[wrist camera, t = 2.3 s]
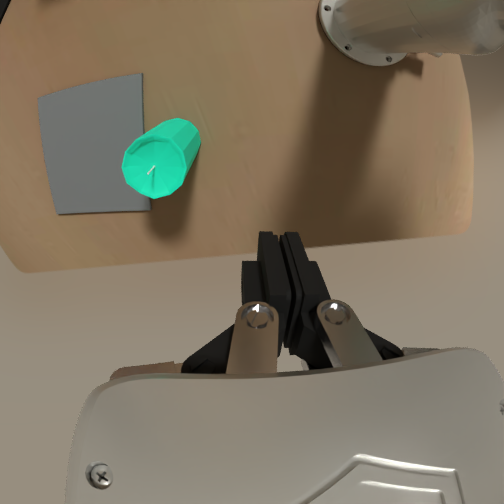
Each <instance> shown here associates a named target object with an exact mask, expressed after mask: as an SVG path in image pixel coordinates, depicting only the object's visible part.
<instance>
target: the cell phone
mask: <svg viewBox="0 0 504 504" xmlns="http://www.w3.org/2000/svg"><path fill="white" fill-rule="evenodd" d="M10 1H11V0H0V23H1V21H2V18H3V16H4V14H5V12H6V10H7V7H8V5H9V3H10Z"/></svg>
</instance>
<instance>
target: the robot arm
mask: <svg viewBox="0 0 504 504" xmlns="http://www.w3.org/2000/svg"><path fill="white" fill-rule="evenodd" d="M324 8H326V9H327V11H325V10H324ZM319 19H320V22H321V25H322V28H323V30H324V32H325V33H326V35H327V37H328V38H329V39H330V41H331V42H332V43H333V45H334V46H336V47H337V48H338V49H339V50H340V51H341V52H342V53H344V54H345V55H346V56H348V57H349V58H351V59H353V60H355V61H357V62H360V63H363V64H366V65H372V66H386V65H391V64H394V63H397V62H398V61H400V60H402V59H403V58H404V57H405V56H406V55H407V54H408V53H429V54H431V55H433V56H435V57H440V56H441V55H442V53H453V54H467V55H486V54H490V53H492V52H495V51H496V50H497V49H499V48H500V47H501V46H502V45H503V44H504V0H320V2H319ZM345 46H346V47H347V50H346V49H345ZM386 58H387V60H386ZM241 280H242V281H241V284H242V285H241V290H242V291H241V292H242V306H241V307H240V308H239V309H238V312H237V314H236V320H235V324H233V325H232V326H231V327H229V328H228V329H227V330H225V331H224V332H223V333H221V334H220V335H218V336H217V337H216V338H214V339H213V340H212V341H210V342H209V343H208V344H206V345H205V346H204V347H202V348H201V349H199V350H198V351H197V352H195V353H194V354H192V355H191V356H190V357H188V358H187V360H185V361H184V363H178V364H174V361H172V362H165V363H158V364H149V365H140V366H131V367H124V368H120V369H118V370H116V371H115V372H114V373H113V374H112V375H111V377H110V381H108V382H106V383H104V384H102V385H100V386H98V387H97V388H95V389H94V390H93V391H92V392H91V393H90V394H89V396H88V397H87V399H86V401H85V403H84V405H83V407H82V410H81V412H80V415H79V418H78V421H77V424H76V428H75V432H74V435H73V440H72V445H71V451H70V457H69V462H68V470H67V480H66V493H65V504H504V382H503V379H502V378H501V376H500V374H499V372H498V370H497V369H496V367H495V365H494V364H493V363H492V361H491V360H490V359H489V357H488V356H487V355H486V354H484V353H483V352H481V351H478V350H476V349H471V348H460V347H455V348H446V349H434V348H433V349H432V348H407V347H403V348H402V350H400V348H398V347H397V346H396V345H394V344H392V343H391V342H389V341H387V340H385V339H383V338H382V337H380V336H378V335H376V334H374V333H372V332H371V331H369V330H367V329H365V328H364V327H363V326H362V324H361V322H360V321H359V319H358V318H357V316H356V314H355V313H354V311H353V310H352V309H351V308H350V306H349V305H347V304H346V303H344V302H342V301H339V300H331V298H330V295H329V293H328V290H327V287H326V285H325V282H324V280H323V277H322V275H321V272H320V269H319V267H318V264H317V262H316V261H309V260H308V257H307V255H306V252H305V249H304V247H303V244H302V241H301V239H300V236H299V234H298V232H285V233H284V235H280V239H279V241H278V237H277V235H273V233H272V232H264V231H260V232H259V239H258V253H257V261H242V278H241ZM282 343H283V344H284V347H285V348H289V353H290V355H297V356H298V357H300V358H301V359H302V360H301V364H302V367H303V370H304V371H292V372H277V358H278V357H279V356H280V352H281V346H282ZM108 466H109V467H108Z"/></svg>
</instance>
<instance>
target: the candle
mask: <svg viewBox="0 0 504 504" xmlns="http://www.w3.org/2000/svg"><path fill="white" fill-rule="evenodd" d="M200 144H201V140H200V136H199V131H198V130H197V128H196V127H195V126H194V125H193V124H192V123H191V122H190V121H187V120H183V119H180V118H175V119H171V120H167V121H164V122H163V123H161V124H159V125H158V126H156V127H154V128H153V129H151V130H150V131H148V132H147V133H145V134H143V135H142V136H140V137H139V138H137V139H136V140H135V141H134V142H133V143H132V144H131V145H130V146H129V148H128V149H127V150H126V151H125V154H124V158H123V163H122V167H121V168H122V171H123V174H124V177H125V180H126V183H127V184H128V185H130V186H131V187H132V188H134V189H135V190H136V191H137V192H139V193H141V194H143V195H145V196H148V197H150V198H153V199H156V198H160V197H163V196H167V195H170V194H172V193H173V192H174V191H175V190H176V189H178V188H179V187H180V186H181V185H182V184H183V182H184V179H185V177H186V175H187V173H188V171H189V169H190V167H191V165H192V163H193V161H194V159H195V157H196V155H197V153H198V150H199V147H200Z"/></svg>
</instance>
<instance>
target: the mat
mask: <svg viewBox="0 0 504 504" xmlns="http://www.w3.org/2000/svg"><path fill="white" fill-rule="evenodd" d="M38 110H39V121H40V131H41V139H42V146H43V152H44V158H45V164H46V170H47V175H48V180H49V184H50V189H51V193H52V197H53V202H54V206H55V209H56V213H57V214H67V213H85V212H108V211H140V210H151V201H150V197H148V196H145V195H143V194H141V193H139V192H137V191H136V190H135V189H134V188H132V187H131V186H130V185H128V184H127V183H126V180H125V177H124V174H123V171H122V168H121V167H122V163H123V158H124V154H125V151H126V150H127V149H128V148H129V146H130V145H131V144H132V143H133V142H134V141H135V140H136V139H137V138H139V137H140V136H142V135H143V134H145V133H144V111H143V73H140V74H134V75H127V76H121V77H116V78H110V79H105V80H101V81H96V82H92V83H87V84H83V85H79V86H75V87H72V88H68V89H65V90H61V91H58V92H55V93H51V94H48V95H45V96H42V97H39V98H38Z"/></svg>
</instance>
